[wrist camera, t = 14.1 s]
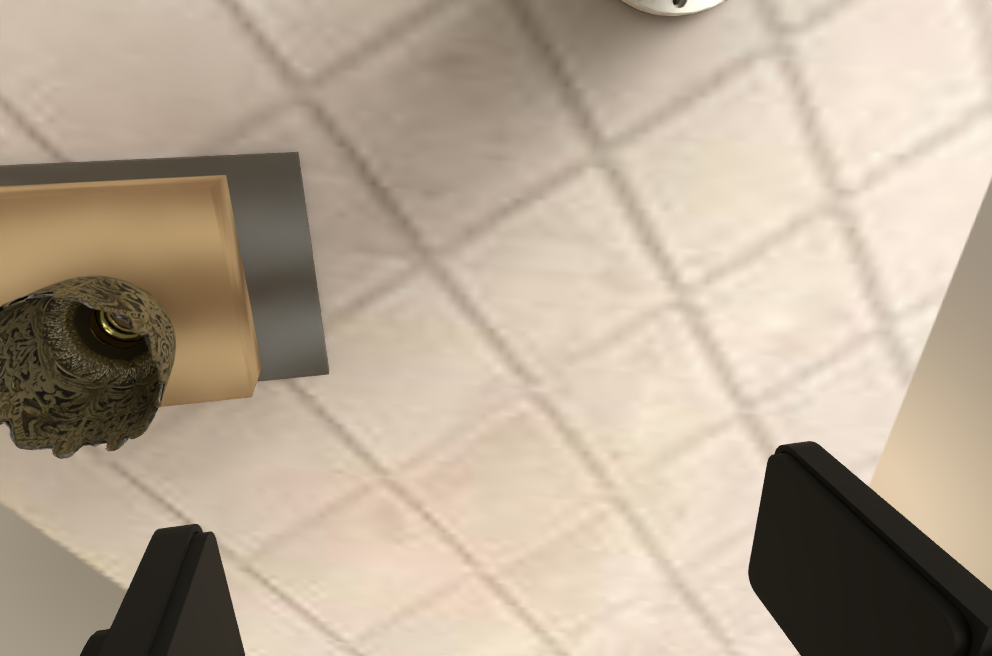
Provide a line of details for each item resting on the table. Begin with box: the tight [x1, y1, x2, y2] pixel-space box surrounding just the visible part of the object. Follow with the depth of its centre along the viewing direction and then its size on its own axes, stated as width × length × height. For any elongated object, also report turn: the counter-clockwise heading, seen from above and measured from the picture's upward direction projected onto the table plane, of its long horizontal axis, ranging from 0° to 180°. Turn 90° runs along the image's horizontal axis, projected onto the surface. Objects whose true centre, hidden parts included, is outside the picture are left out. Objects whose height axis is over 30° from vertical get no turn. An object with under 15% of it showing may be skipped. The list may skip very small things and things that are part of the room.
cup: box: [0, 276, 176, 459], centre depth 29 cm, size 8×7×8 cm
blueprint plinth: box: [0, 152, 329, 407], centre depth 35 cm, size 14×20×4 cm
